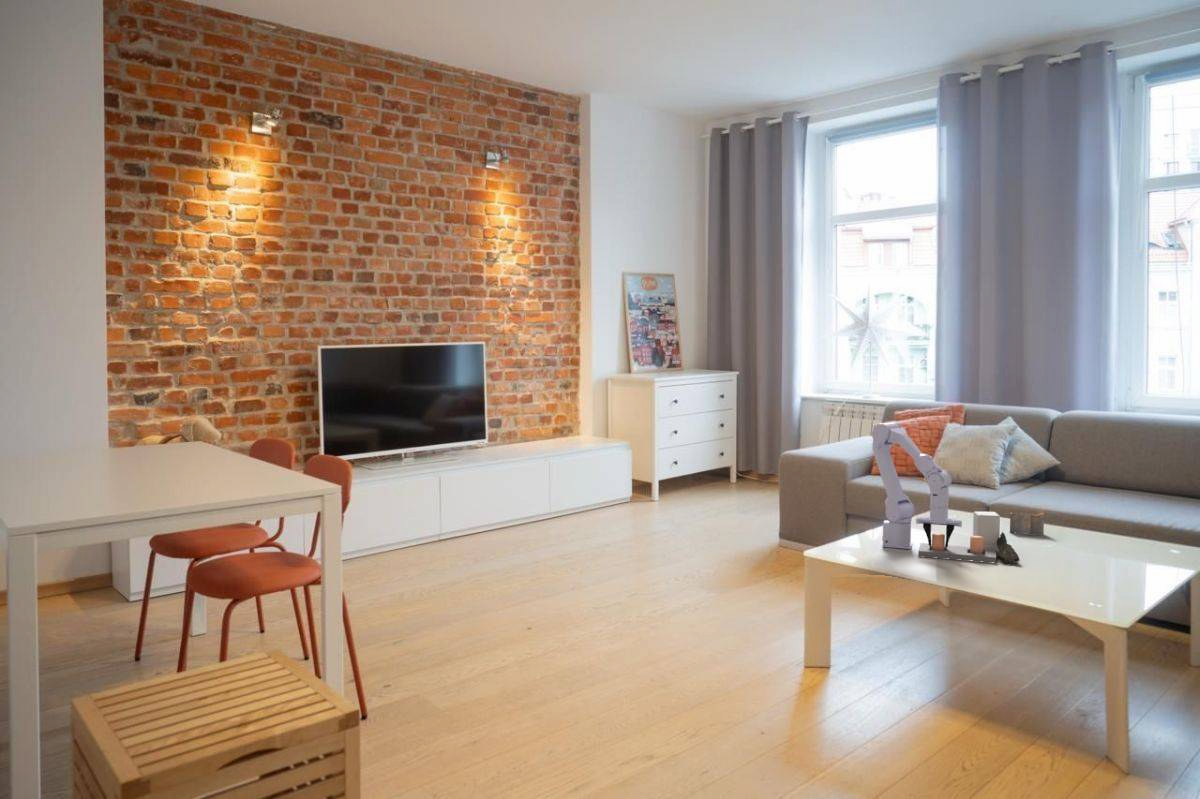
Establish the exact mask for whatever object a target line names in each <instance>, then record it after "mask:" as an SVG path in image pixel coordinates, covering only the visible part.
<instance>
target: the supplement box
mask: <svg viewBox="0 0 1200 799" xmlns="http://www.w3.org/2000/svg"><path fill="white" fill-rule="evenodd" d="M972 521H973V522H972V523H973V524H972V527H973V528H972V536H981V537H983V548H987V549H996V551H999V550H998V546H997V540H998V539H999V538H1000V534H1001V533H1000V528H1001V527H1000V525H1001V524H1000V523H1001V515H999V514H998V513H997V512H996V511H973V519H972Z"/></svg>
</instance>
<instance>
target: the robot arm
mask: <svg viewBox="0 0 1200 799" xmlns="http://www.w3.org/2000/svg"><path fill="white" fill-rule="evenodd" d="M870 434H871V437H872V451H873V456H874V459H875V461H876V465H877V468H878V471H879V474H880V477H881V480H882V483H883V486H884V489H885V493H886V496H887V497H886V499H885V501H884V506H885V516H886V518H887V520H883V526H882V537H881V538H882V547H883V548H893V549H905V550H911V549H912V546H913V543H912V541H911V539H912V536H911V534H912V518H913V517H915V515H916V508H915V505H914V504H913V503H912V502H911V500H910V497H909V496H908V495H907V494H905V493H904V491H903V487H902V485H901V482H900V479H899V475H898V472H897V469H896V467H895V464H894V460H893V457H892V454H891V451H890V450H891V448H892V446H893V445H894V444H895V445H899V446H900V447H901V449H903V450H904V451H905V452H906V453H907V454H908V455H909V456H910V457H911V458H912V459H913V460H914V466H915V467H916V468H917V469H918V470H919V471H920V472H921V474H922V475H923V476H924V478H926V479H927V480H926V482H927V485H928V487H929V493H930V496H929V497H930V499H929V500H930V502H929V503H930V504H929V517H927V516H926V517H921V516H920V517H919V516H917V517H916V518H915V523H916V525H920V524H921V525H922V529H923V530H924V532H925V535H926V537H927V542H928V543H927V544H929V546H931V544H932V525H933V526H935V525H936V526H946V527H945V528H946V530H945V547H948V545H949V541H950V538H951V536H952V534H953V532H954V531H955V527H959V528H962V527H963V524H962V523H963V520H961V519H952V518H949V488H950V487H949V486H951V485H952V482H953V477H952V474H950V472H949V471H948V470H946V469H943V468H942V467H941V466H939V465H938V463H937V462H935V460H934V457H933V456H932V455H929V454H927V453H923V452H922V451H921V450H920V449H919V448H918V446H917V445H916V444H915V443H914V441H913V440H912V438H911V437H910V436H909V434H908V433H907V431H906V429H905V427H902V425H901V423H899V422H897V421H891V422H885V423H878V424H875V425H874V428H873V429H872V431H871V433H870Z"/></svg>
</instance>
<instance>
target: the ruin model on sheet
mask: <svg viewBox="0 0 1200 799" xmlns="http://www.w3.org/2000/svg"><path fill="white" fill-rule="evenodd" d="M1009 515H1010V516H1009V517H1010V519H1009V533H1010V532H1016V533H1015V534H1019V533H1027V534H1026V535H1030V534H1036V535H1035V536H1042V535H1043V536H1044V534H1045V533H1044V531H1045V530H1044V529H1045V528H1044V527H1045V526H1044V525H1045V515H1044V509H1037V510H1036V514H1035V513H1034V514H1033V513H1023V512H1022V513H1021V512H1017V513H1012V512H1010V514H1009Z"/></svg>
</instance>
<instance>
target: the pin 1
mask: <svg viewBox="0 0 1200 799" xmlns="http://www.w3.org/2000/svg"><path fill="white" fill-rule="evenodd" d="M945 543H946V533H940V532H934V533H933V532H932V533H931V544H932V550H939V551H944V547H945Z"/></svg>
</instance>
